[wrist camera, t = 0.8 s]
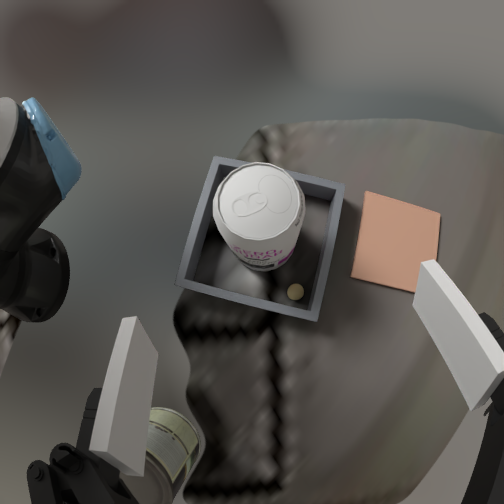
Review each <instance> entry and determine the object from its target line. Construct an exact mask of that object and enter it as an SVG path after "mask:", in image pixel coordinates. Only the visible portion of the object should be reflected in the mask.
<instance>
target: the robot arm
mask: <svg viewBox="0 0 504 504" xmlns="http://www.w3.org/2000/svg"><path fill="white" fill-rule="evenodd" d="M80 175H81V164H80V162H79V160H78V159H77V157H76V156H75V154H74V152H73V151H72V149H71V148H70V146H69V145H68V143H67V142H66V141H65V139H64V138H63V136H62V135H61V133H60V132H59V130H58V129H57V127H56V126H55V125H54V123H53V122H52V120H51V119H50V117H49V116H48V115H47V113H46V112H45V110H44V109H43V108H42V106H41V105H40V104H39V103H38V101H37V100H36V99H35V98H30V99H28V100H27V101H25V102H23V103H22V106H21V107H20V106H19V105H18V104H17V103H16V102H15V101H14V100H12V99H10V98H8V97H4V98H0V309H3V310H4V311H6V312H8V313H9V314H11V315H13V316H15V317H17V318H18V319H20V320H22V321H26V322H43V321H46V320H48V319H50V318H51V317H53V316H54V315H55V314H56V313H57V311H58V310H59V309H60V307H61V305H62V304H63V302H64V299H65V297H66V294H67V290H68V286H69V279H70V267H69V259H68V255H67V252H66V249H65V247H64V245H63V243H62V242H61V240H60V239H59V238H58V237H57V236H56V235H55V234H53V233H52V232H49V231H47V230H45V229H42V228H38V227H39V226H40V225H41V223H42V222H43V221H44V220H45V219H46V218H47V217H48V216H49V214H50V213H51V212H52V211H53V210H54V209H55V208H56V207H57V206H58V205H59V203H60V202H61V201H62V200H64V199H65V198H66V195H67V193H68V192H69V191H70V190H71V188H72V187H73V186H74V185H75V184H76V183H77V181H78V180H79V178H80ZM413 307H414V309H415V310H416V312H417V314H418V315H419V317H420V318H421V320H422V322H423V323H424V325H425V327H426V329H427V330H428V332H429V334H430V335H431V337H432V339H433V340H434V342H435V344H436V346H437V348H438V349H439V351H440V353H441V355H442V356H443V358H444V360H445V362H446V364H447V366H448V367H449V369H450V371H451V373H452V375H453V377H454V379H455V381H456V383H457V385H458V386H459V388H460V390H461V392H462V394H463V396H464V398H465V400H466V402H467V405H468V407H469V409H470V411H473V410H475V409H477V408H479V407H480V406H482V405H484V404H485V403H486V402H487V401H488V399H489V398H490V397H491V399H492V401H493V402H492V403H491V405H490V406H489V407H488V408H487V409H486V411H485V413H484V416H486V414H487V413H488V412H489V416H488V421H487V425H486V429H485V433H484V437H483V441H482V444H481V448H480V451H479V455H478V458H477V461H476V464H475V467H474V471H473V473H472V476H471V479H470V482H469V485H468V487H467V490H466V493H465V495H464V498H463V500H462V503H461V504H504V333H503V332H502V330H501V329H500V327H499V326H498V325H497V323H496V322H495V320H494V319H493V318H492V317H490V316H489V315H487V314H486V313H485V312H484V313H481V314H479V315H478V314H477V313H476V311H475V310H474V309H473V307H472V306H471V305H470V303H469V302H468V301H467V299H466V298H465V297H464V296H463V294H462V293H461V292H460V290H459V289H458V288H457V287H456V285H455V284H454V283H453V282H452V280H451V279H450V278H449V277H448V275H447V274H446V273H445V272H444V270H443V269H442V268H441V267H440V266H439V264H438V263H437V262H436V261H435V260H434V259H432V260H428V261H424V262H421V265H420V271H419V276H418V281H417V287H416V292H415V296H414V301H413ZM158 355H159V353H158V352H157V350H156V349H155V347H154V345H153V343H152V342H151V340H150V338H149V336H148V335H147V333H146V331H145V329H144V328H143V326H142V324H141V322H140V321H139V319H138V317H137V316H133V317H126V318H122V321H121V325H120V328H119V332H118V335H117V338H116V341H115V345H114V348H113V351H112V355H111V359H110V362H109V366H108V369H107V373H106V377H105V381H104V385H103V388H94V389H93V391H92V392H91V394H90V395H89V397H88V399H87V403H86V407H85V411H84V415H83V420H82V423H81V427H80V432H79V436H78V440H77V445H76V448H75V447H73V446H72V445H70V444H68V443H60V444H58V445H56V446H55V447H54V449H53V450H52V452H51V454H50V465H48V464H46V463H45V462H43V461H41V460H36V461H34V462H32V463H31V464H30V465H29V467H28V470H27V481H28V487H29V492H30V498H31V502H32V504H139V502H138V501H137V500H136V498H135V497H134V496H133V494H132V493H131V492H130V490H129V489H128V487H127V486H126V484H125V483H124V482H123V480H122V479H121V478H120V477H119V475H120V471H121V472H123V473H124V474H126V475H131V476H144V466H145V455H146V445H147V436H148V427H149V419H150V411H151V403H152V396H153V387H154V382H155V375H156V368H157V362H158Z"/></svg>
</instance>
